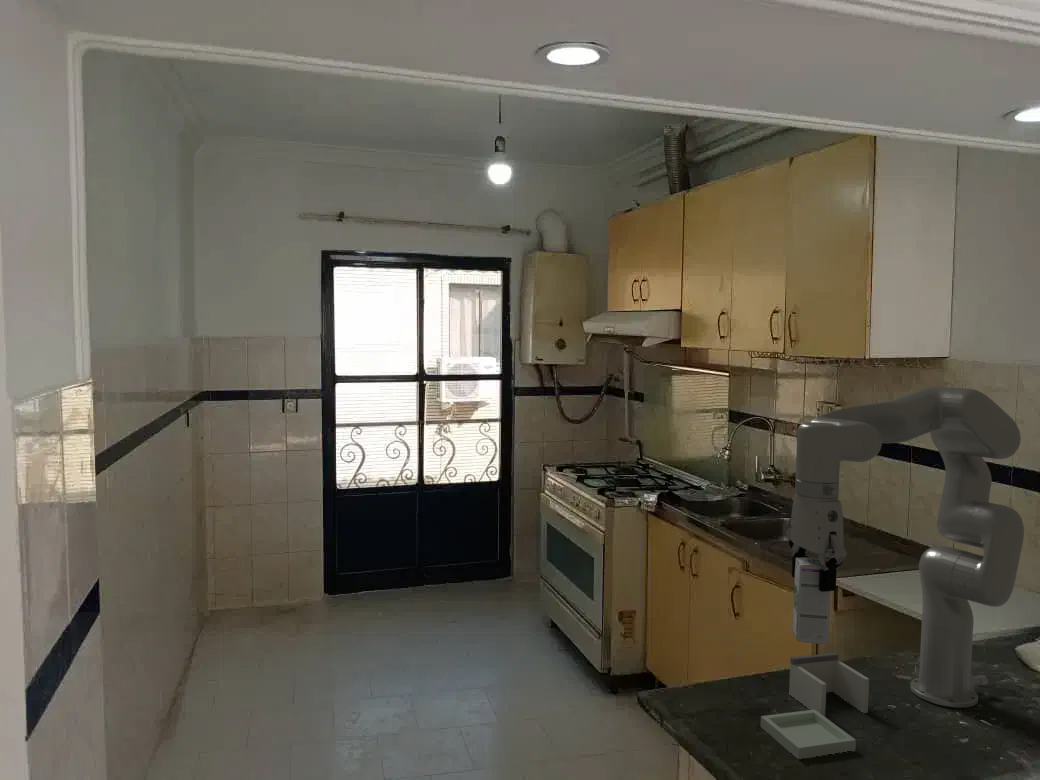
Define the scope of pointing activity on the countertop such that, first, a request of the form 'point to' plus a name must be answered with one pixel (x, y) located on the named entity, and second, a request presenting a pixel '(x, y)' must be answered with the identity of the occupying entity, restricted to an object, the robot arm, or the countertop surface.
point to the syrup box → (810, 603)
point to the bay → (826, 682)
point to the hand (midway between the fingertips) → (813, 583)
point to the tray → (807, 734)
